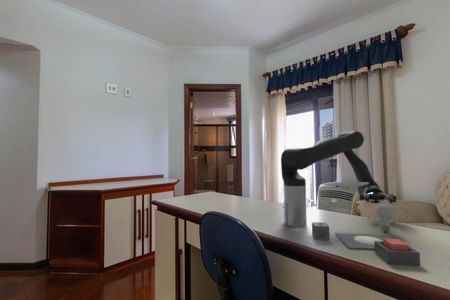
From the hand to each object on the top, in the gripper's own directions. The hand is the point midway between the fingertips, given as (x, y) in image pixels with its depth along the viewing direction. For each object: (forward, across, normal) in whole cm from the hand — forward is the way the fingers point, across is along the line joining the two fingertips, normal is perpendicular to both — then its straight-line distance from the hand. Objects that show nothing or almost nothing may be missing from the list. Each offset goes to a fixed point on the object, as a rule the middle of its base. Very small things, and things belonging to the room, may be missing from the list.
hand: (379, 200), depth 104 cm
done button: (+38, -3, +7) cm, 39 cm away
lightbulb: (+12, 0, +10) cm, 15 cm away
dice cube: (+27, -23, +10) cm, 37 cm away
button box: (+38, -3, +10) cm, 39 cm away
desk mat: (+26, -8, +10) cm, 29 cm away
